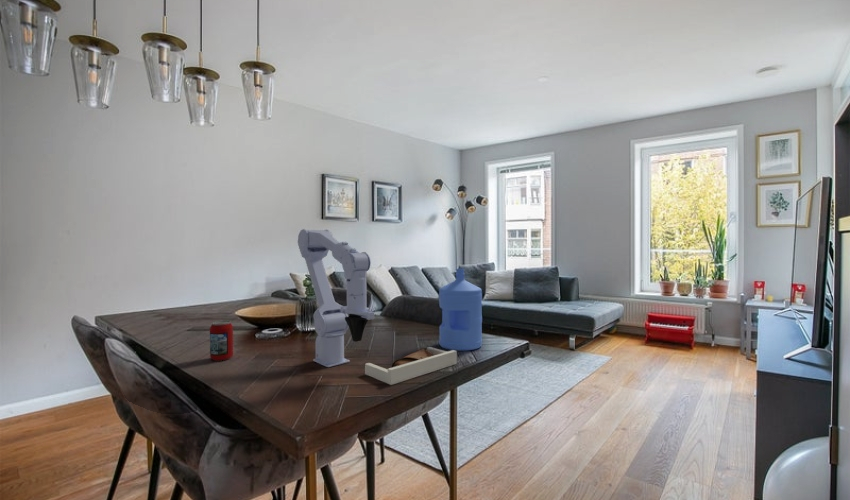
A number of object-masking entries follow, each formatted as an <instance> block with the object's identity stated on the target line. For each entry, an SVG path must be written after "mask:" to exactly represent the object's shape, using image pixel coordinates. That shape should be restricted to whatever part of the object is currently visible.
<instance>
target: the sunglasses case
mask: <svg viewBox="0 0 850 500" xmlns="http://www.w3.org/2000/svg"><path fill="white" fill-rule="evenodd" d="M431 356H434V355H433V354H431V353H430V352H428V351H427V349H425V347H423V348H422V349H419V350H417V351H414V352H413V353H410V354H408V355H405V356H403V357H400V358H398V359H396V360H394V361H393V363H392V364H391V367H390V368H392V367H396V366H399V365H403V364H406V363H410V362H413V361H417V360H420V359H424V358H427V357H431Z"/></svg>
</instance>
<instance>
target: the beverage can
mask: <svg viewBox="0 0 850 500" xmlns="http://www.w3.org/2000/svg"><path fill="white" fill-rule="evenodd" d="M209 349H210V350H209V355H210V356H209V357H210V359H211V360H213V361H215V362H220V361H221V362H223V361H228V360H230V359H231V358H232V357H234V326H233V324H232V323H231V321H230V320H218V321H214V322H212V324H211V326H210V328H209ZM222 360H223V361H222Z"/></svg>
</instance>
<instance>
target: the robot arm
mask: <svg viewBox="0 0 850 500" xmlns="http://www.w3.org/2000/svg"><path fill="white" fill-rule="evenodd" d="M297 236H298V237H297V246H298V249H299V252H300V256H301V258H303V259H304V260H305V264H306V266H307V271H308V274H309V278H310V281H311V285H312V287H313V292H314V294H315V297H316V301H317V305H318V308H317V309H316V310H315V311H314V313H313V315H312V317H313V326H314V331H315V332H316V334H317V336H316V339H315V358H313V360H312V361H313V362H316V363H317V364H318V365H322V366H324V367H326V368H330V367H331V368H332V367H334V366H339V365H342V364H347V363H350V359H347V358H345V334H346V333H347V331H348V329H349V330H350V331H349V332H350V334H351V338H352V341H353V342H355V343H356V342H357V343H358V342H361V341H362V338H363V334H364V330H365V328H366V325H367V323H368V321H369V320H374V319H375V312H374V311H372V310H370V307H367V304H368V303H367V302H368V301H367V300H368V299H367V272H368V271H369V270H370V268H371V258H370V257H371V256H370V255H369V254H368V253H367V252H366V251H362V252H359V251H357V249H356V248H354V247H352V246H351V245H350V244H349V242H347V241H338V240H337V239H336V238H335V237H334V236H333V232H332V231H331V230H329V229H305V228H303V229H301V230H300V231H299V233H298V235H297ZM329 251H330V252H331V255H332V258H334V259H335V260H336V261H337V262H339V263H340V264H341V266H342V269H343V274H344V278H345V279H346V305H341V303H340V304H339V303H338V302H336V301H335V300H336V299H335V298H334V295H333V291H332V287H331V284H330V281H329V279H328V276H327V275H328V274H327V272H326V269H325V266H324V262H323V259H324V258H326V257H327V256H328V253H329Z"/></svg>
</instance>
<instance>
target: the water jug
mask: <svg viewBox="0 0 850 500" xmlns="http://www.w3.org/2000/svg"><path fill="white" fill-rule="evenodd" d="M465 271H466V270H465V268H456V269H455V272H456V273H455V280H453V281H452V282H449V283H447V284H446V285H444V286H442V287H439V289H438V290H439V294H438V300H439V302H438V303H439V308H440V309H442V310H441V313H442V314H441V317H442V321H441V324H440V325H439V331H438V332H439V338H438V344H439V345H440V347H441V348H444V349H445V350H448V351H452V350H455V351H457V352H458V351H459V352H463V351H464V352H465V351H473V350H474V351H475V350H477V349H480V348H481V347H482V345H483V337H482V335H483V333H482V332H483V330H482V328H483V327H482V326H483V325H482V323H483V315H482V313H483V311H482V309H483V308H482V307H483V303H482V301H483V292H482V288H481V287H479V286H477V285H476V284H473V283H471V282H469V281H468V280H466V278H465Z"/></svg>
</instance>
